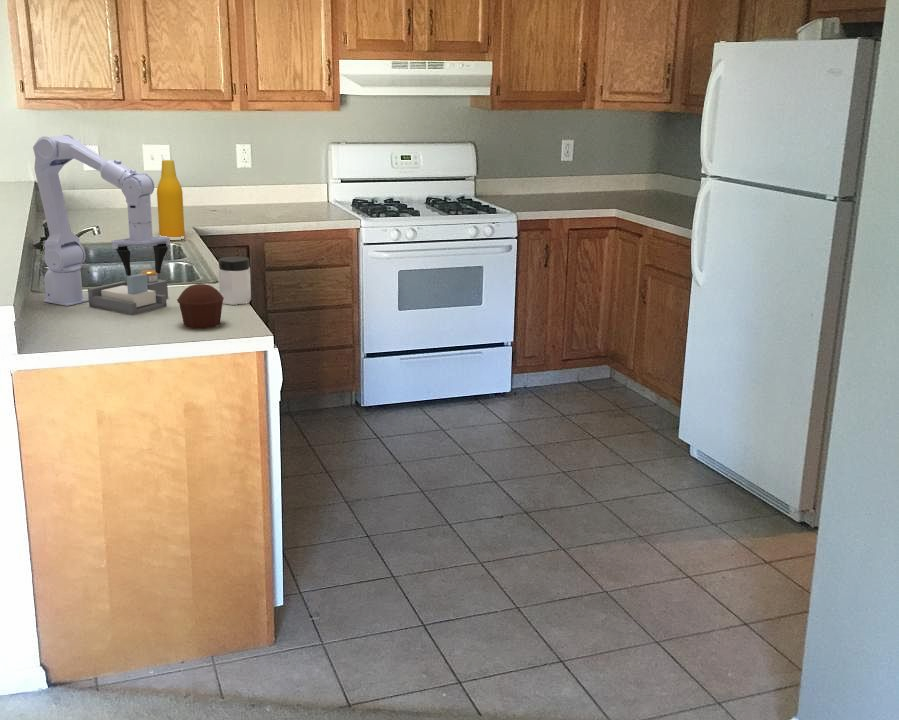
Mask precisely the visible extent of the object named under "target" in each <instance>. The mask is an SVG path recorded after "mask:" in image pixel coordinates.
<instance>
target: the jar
mask: <svg viewBox="0 0 899 720" xmlns="http://www.w3.org/2000/svg"><path fill="white" fill-rule="evenodd" d="M251 287H252V285H251V267H250V258H248V257H246V256H236V255H234V256H233V255H232V256H222V257H220V258H219V259H218V289H219V290H218V291H219V293H220V294H221V295H222V296H223V298H224V299H223V303H222V305H231V306H238V304H239V305H248V304H249V303H250V302H251V300H252V289H251ZM246 302H247V303H248V304H247V303H246Z"/></svg>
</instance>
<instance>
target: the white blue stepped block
mask: <svg viewBox="0 0 899 720" xmlns="http://www.w3.org/2000/svg"><path fill="white" fill-rule="evenodd" d="M126 282H127V286H124V285H123V286H118V287H114V288H109V289H105V290H101V294H102V297H107V298H112V299H118V300H123V301H129V302H134V303H136V307H141V306H145V305H149V304H153V303H156V292H155V291H153V290H148V288H147V274H141V273H137V274H131V276H128V275H126Z"/></svg>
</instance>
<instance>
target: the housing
mask: <svg viewBox="0 0 899 720" xmlns="http://www.w3.org/2000/svg"><path fill="white" fill-rule="evenodd" d="M157 280H158V281H157V282H153V283H147V288H148V290H153V291H155V292H156V303H153V304H149V305H145V306H141V307H136V303H134V302H129V301H123V300H118V299H112V298H107V297H102V294H101V290H105V289H109V288H114V287H118V286H123V285H124V286H127V281H124V280H121V281H117V282H113V283H108V284H103V285H99V286H92V287H89V288H87V294H88V299H89V301H88V306H89V308H92V309H97V310H104V311H108V312H113V313H120V314H124V315H129V316H136V315H140V314H144V313H147V312H151V311H155V310H158V309H163V308H166V307H167V306H168V305H167V300H168V299H169V291H168V280H164V279H158V278H157Z"/></svg>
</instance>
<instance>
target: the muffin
mask: <svg viewBox="0 0 899 720" xmlns="http://www.w3.org/2000/svg"><path fill="white" fill-rule="evenodd" d="M223 299H224V298H223V296H222V295H221V294H220V293H219V290H217V288H215V287H214V286H212V285H210V284H206V283H205V284H204V283H196V284H191V285H189V286H187V287H186V288H185V289H184V290H183V291H182V292H181V293H180V295H179V297H178V298H177V299H176V301H177V303H178V305H179V308H180V314H181V318H182V321H183V322H182V323H183V325H184V327H185V328H188V329H192V330H195V329H196V330H197V329H199V330H200V329H201V330H203V329H205V330H206V329H211V328H216V327H218V326H220V325H221V318H222V310H223Z"/></svg>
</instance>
